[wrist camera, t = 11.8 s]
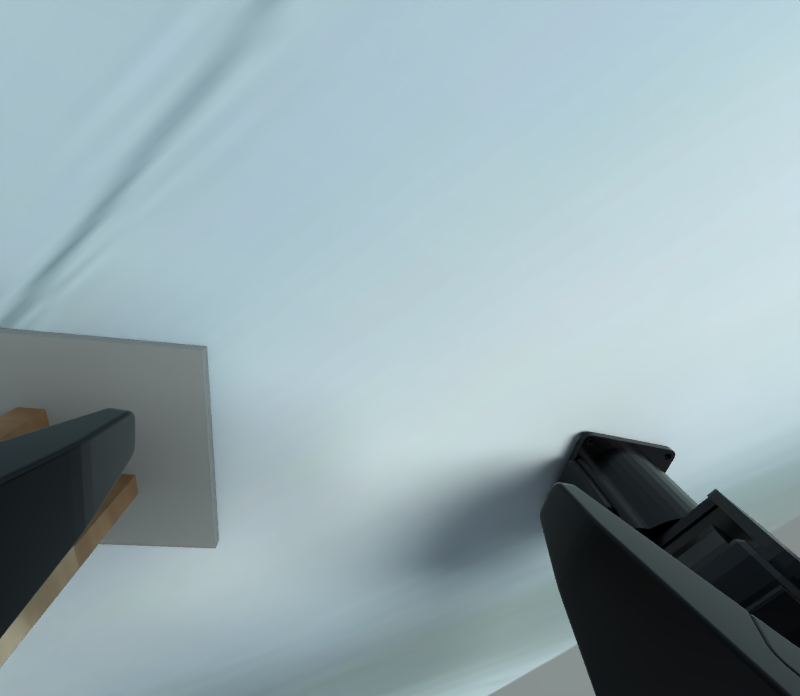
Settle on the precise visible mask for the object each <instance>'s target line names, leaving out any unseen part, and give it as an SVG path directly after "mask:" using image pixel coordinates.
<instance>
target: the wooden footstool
mask: <svg viewBox="0 0 800 696" xmlns="http://www.w3.org/2000/svg"><path fill="white" fill-rule="evenodd" d="M48 426H49V422H48V418H47V414H46V409H37V408H23V407H16V408H15V409H13V410H11V411H10V412H8V413H6V414H5V415H3V416H1V417H0V441H3V440H7V439H10V438H13V437H16V436H19V435H23V434H26V433H29V432H32V431H35V430H39V429H42V428H45V427H48ZM137 495H138V487H137V481H136V475H129V474H121V475H120V477H119V478H118V480H117V482H116V483H115V485H114V486H113V488H112V489H111V491H110V493H109V494H108V496H107V497H106V499H105V501H104V502H103V504H102V505H101V507H100V508H99V510H98V512H97V513H96V515H95V516H94V518H93V519H92V521H91V522H90V524H89V525H88V527H87V528H86V530H85V531H84V532H83V534H82V535H81V536H80V538H79V539H78V540H77V542H76V543H75V544H74V546H73V547H72V548H71V549H70V551H69V552H68V553H67V555H66V556H65V557H64V558H63V560H62V561H61V562H60V563H59V565H58V566H57V567H56V569H55V570H54V571H53V572H52V574H51V575H50V576H49V577H48V579H47V580H46V581H45V583H44V584H43V585H42V586H41V588H40V589H39V590H38V591H37V593H36V594H35V595H34V597H33V598H32V599H31V600H30V602H29V603H28V604H27V605H26V607H25V608H24V609H23V611H22V612H21V613H20V614H19V616H18V617H17V618H16V619H15V621H14V622H13V623H12V625H11V626H10V627H9V628H8V630H7V631H6V632H5V634H4V635H3V636H2V637H1V639H0V667H1V666H2V665H3V664H4V662H5V661H6V660H7V659H8V657H9V656H10V655H11V654H12V652H13V651H14V650H15V649H16V647H17V646H18V645H19V644H20V642H21V641H22V640H23V638H24V637H25V636H26V635H27V633H28V632H29V631H30V630H31V628H32V627H33V626H34V625H35V623H36V622H37V621H38V620H39V618H40V617H41V616H42V615H43V613H44V612H45V611H46V609H47V608H48V607H49V606H50V604H51V603H52V602H53V601H54V599H55V598H56V597H57V596H58V594H59V593H60V592H61V591H62V589H63V588H64V587H65V586H66V584H67V583H68V582H69V580H70V579H71V578H72V577H73V575H74V574H75V573H76V572H77V570H78V569H79V568H80V567H81V565H82V564H83V563H84V562H85V560H86V559H87V558H88V557H89V555H90V554H91V553H92V552H93V550H94V549H95V548H96V546H97V545H98V544H99V543H100V541H101V540H102V539H103V538H104V536H105V535H106V534H107V533H108V531H109V530H110V529H111V528H112V526H113V525H114V524H115V523H116V521H117V520H118V519H119V517H120V516H121V515H122V514H123V512H124V511H125V510H126V509H127V507H128V506H129V505H130V504H131V502H132V501H133V500H134V499H135V497H136V496H137Z"/></svg>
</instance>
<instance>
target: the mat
mask: <svg viewBox="0 0 800 696" xmlns="http://www.w3.org/2000/svg"><path fill="white" fill-rule="evenodd" d="M16 407H23V408H37V409H46V414H47V418H48V422H49V426H51V425H55V424H58V423H61V422H64V421H67V420H71V419H74V418H77V417H80V416H83V415H87V414H90V413H93V412H96V411H99V410H103V409H106V408H118V409H124V410H130V411H132V412H133V413H134V414H135V419H136V421H135V450H134V453H133V456H132V458H131V459H130V461H129V463H128V464H127V466H126V467H125V469H124V471H123V472H122V474H129V475H136V481H137V487H138V495H137V496H136V497H135V499H134V500H133V501H132V502H131V504H130V505H129V506H128V507H127V509H126V510H125V511H124V512H123V514H122V515H121V516H120V517H119V519H118V520H117V521H116V523H115V524H114V525H113V526H112V528H111V529H110V530H109V531H108V533H107V534H106V535H105V536H104V538H103V539H102V540H101V541H100V543H99V544H113V545H140V546H167V547H194V548H216V546H217V543H218V541H219V537H218V521H217V505H216V489H215V473H214V456H213V440H212V424H211V408H210V392H209V376H208V360H207V346H196V345H185V344H173V343H162V342H151V341H140V340H129V339H118V338H106V337H95V336H84V335H73V334H62V333H51V332H39V331H28V330H17V329H6V328H0V417H1V416H3V415H5V414H6V413H8V412H10V411H11V410H13V409H15V408H16Z"/></svg>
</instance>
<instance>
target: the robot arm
mask: <svg viewBox="0 0 800 696" xmlns="http://www.w3.org/2000/svg"><path fill="white" fill-rule="evenodd" d="M135 421H136V419H135V414H134V413H133V412H132V411H130V410H124V409H118V408H106V409H103V410H99V411H96V412H93V413H90V414H87V415H83V416H80V417H77V418H74V419H71V420H67V421H64V422H61V423H58V424H55V425H51V426H48V427H45V428H42V429H39V430H35V431H32V432H29V433H26V434H23V435H19V436H16V437H13V438H10V439H7V440H3V441H0V639H1V637H2V636H3V635H4V634H5V632H6V631H7V630H8V628H9V627H10V626H11V625H12V623H13V622H14V621H15V619H16V618H17V617H18V616H19V614H20V613H21V612H22V611H23V609H24V608H25V607H26V605H27V604H28V603H29V602H30V600H31V599H32V598H33V597H34V595H35V594H36V593H37V591H38V590H39V589H40V588H41V586H42V585H43V584H44V583H45V581H46V580H47V579H48V577H49V576H50V575H51V574H52V572H53V571H54V570H55V569H56V567H57V566H58V565H59V563H60V562H61V561H62V560H63V558H64V557H65V556H66V555H67V553H68V552H69V551H70V549H71V548H72V547H73V546H74V544H75V543H76V542H77V540H78V539H79V538H80V536H81V535H82V534H83V532H84V531H85V530H86V528H87V527H88V525H89V524H90V522H91V521H92V519H93V518H94V516H95V515H96V513H97V512H98V510H99V508H100V507H101V505H102V504H103V502H104V501H105V499H106V497H107V496H108V494H109V493H110V491H111V489H112V488H113V486H114V485H115V483H116V482H117V480H118V478H119V477H120V475H121V474H122V472H123V471H124V469H125V467H126V466H127V464H128V463H129V461H130V459H131V458H132V456H133V453H134V450H135ZM589 439H591V440H590V441H588V440H589ZM587 441H588V442H587ZM665 454H666V455H665ZM674 457H675V452H674V451H673V450H671V449H670V448H669V447H667V446H662V445H657V444H651V443H646V442H641V441H636V440H631V439H625V438H620V437H615V436H610V435H605V434H600V433H594V432H585V433H584V434H582V435H581V437H580V438H579V441H578V443H577V445H576V447H575V449H574V451H573V453H572V455H571V457H570V459H569V461H568V463H567V465H566V467H565V469H564V471H563V473H562V475H561V477H560V479H559V481H558V482H557V483H555V484H554V485H553V486H552V487H551V489H550V491H549V494H548V496H547V498H546V500H545V502H544V504H543V506H542V508H541V512H540V520H541V524H542V528H543V532H544V536H545V540H546V544H547V548H548V552H549V556H550V559H551V563H552V567H553V571H554V575H555V579H556V582H557V586H558V589H559V592H560V595H561V598H562V601H563V604H564V607H565V610H566V613H567V615H568V618H569V621H570V624H571V627H572V630H573V632H574V635H575V638H576V641H577V644H578V646H579V649H580V652H581V655H582V658H583V660H584V664H585V666H586V669H587V672H588V675H589V678H590V680H591V683H592V686H593V689H594V692H595V695H596V696H800V558H799V557H798V556H797V555H795V554H794V553H793V552H792V551H791V550H789V549H788V548H787V547H786V546H785V545H783V544H782V543H781V542H780V541H779V540H778V539H776V538H775V537H774V536H773V535H772V534H771V533H769V532H768V531H767V530H766V529H765V528H763V527H762V526H761V525H760V524H759V523H757V522H756V521H755V520H754V519H752V518H751V517H750V516H749V515H747V514H746V513H745V512H744V511H743V510H741V509H740V508H739V507H738V506H736V505H735V504H734V503H733V502H731V501H730V500H729V499H728V498H727V497H725V496H724V495H723V494H722V493H720V492H719V491H718V490H717V489H715V490H713V491H712V492H711V493H710V494H708V495H707V496H708V498H707V499H706V500H704V501H703V502H702V503H700V504H699V505H698V504H697V503H696V502H695V501H693V500H692V499H691V498H690V497H689V496H688V495H687V494H686V493H685V492H684V491H683V490H682V489H681V488H680V487H679V486H678V485H677V484H676V483H675V482H674V481H673V480H671V479H670V478H669V477H668V476H667V475H666V474H665V472H666V471H667V469H668V467H669V466H670V464H671V462H672V461H673V459H674Z"/></svg>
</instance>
